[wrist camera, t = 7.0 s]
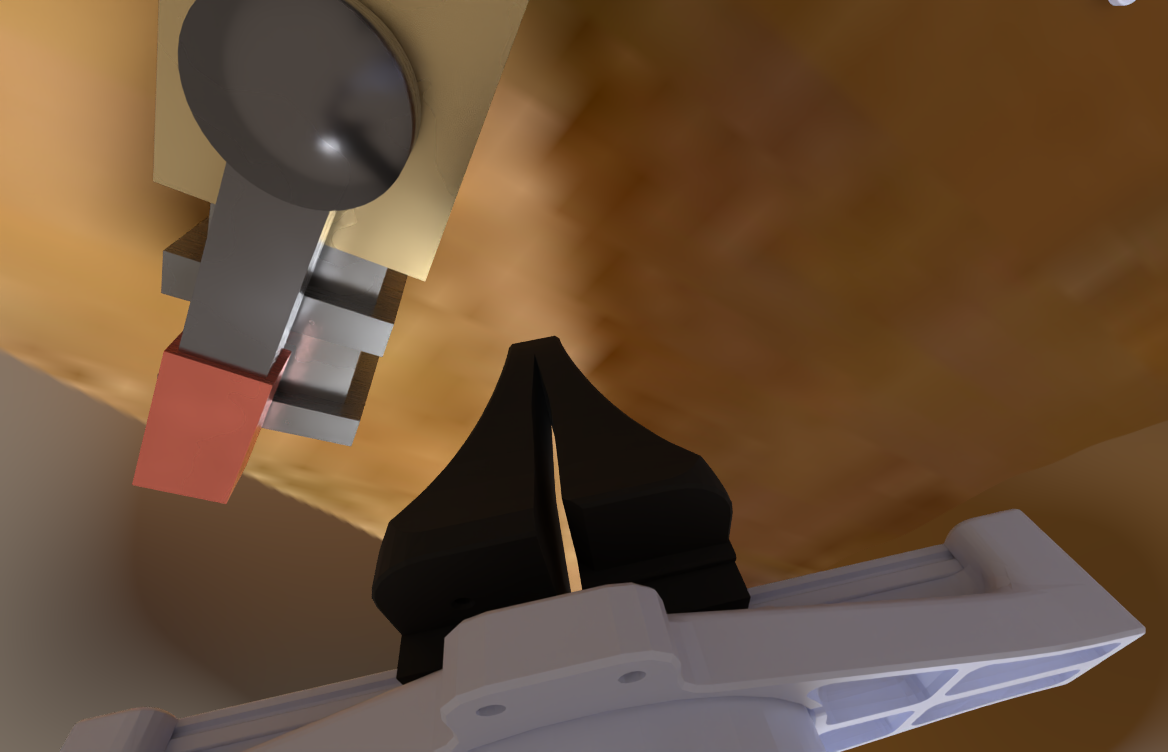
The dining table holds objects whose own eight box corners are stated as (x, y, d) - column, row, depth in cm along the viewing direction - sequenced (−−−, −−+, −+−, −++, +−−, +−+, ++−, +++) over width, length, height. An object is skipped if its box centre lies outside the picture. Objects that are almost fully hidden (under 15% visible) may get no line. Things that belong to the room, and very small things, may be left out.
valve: (339, -680, 8) (177, -1465, 4) (638, -340, 10) (743, -573, 6) (219, 310, 17) (138, 401, 13) (388, 359, 20) (363, 448, 16)
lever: (252, -75, 8) (202, -94, 7) (450, 66, 10) (444, 74, 8) (137, 431, 14) (97, 479, 12) (273, 465, 15) (252, 510, 14)
